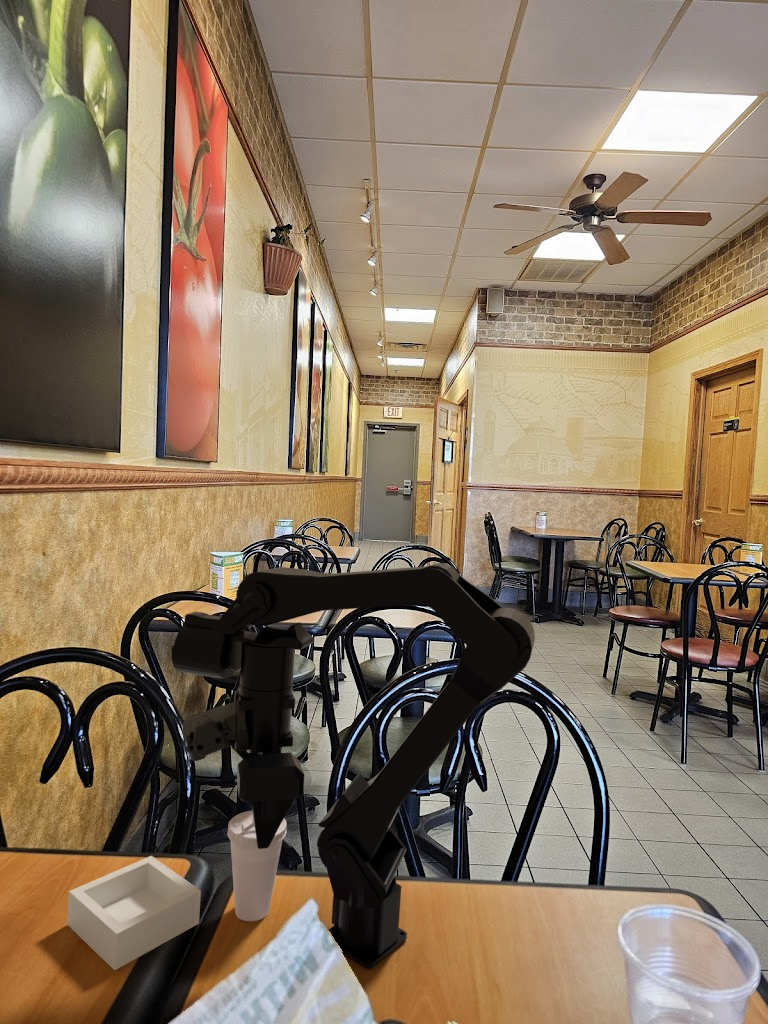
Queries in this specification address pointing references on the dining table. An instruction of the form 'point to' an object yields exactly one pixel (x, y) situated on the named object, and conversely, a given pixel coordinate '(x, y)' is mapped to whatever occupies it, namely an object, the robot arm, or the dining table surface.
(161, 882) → the box
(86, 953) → the dining table surface
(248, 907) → the smoothie
